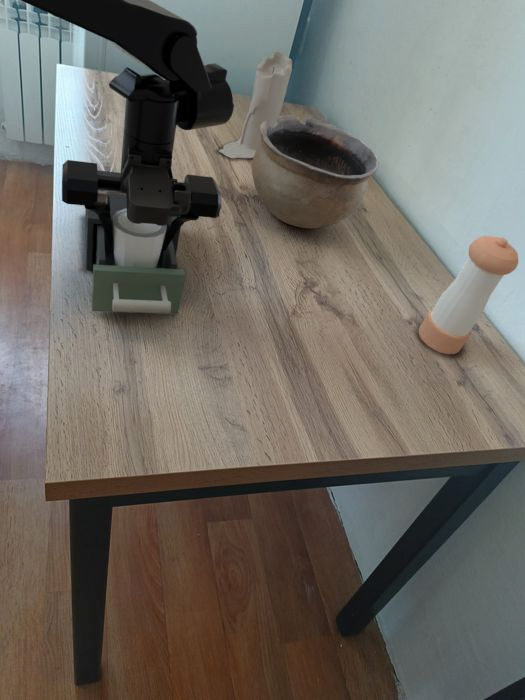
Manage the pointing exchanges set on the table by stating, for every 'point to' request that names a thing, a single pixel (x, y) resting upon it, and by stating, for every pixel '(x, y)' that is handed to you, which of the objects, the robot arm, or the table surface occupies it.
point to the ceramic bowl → (311, 171)
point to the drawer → (135, 282)
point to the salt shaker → (468, 294)
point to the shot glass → (136, 242)
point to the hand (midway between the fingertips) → (137, 247)
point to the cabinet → (116, 205)
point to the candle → (262, 104)
